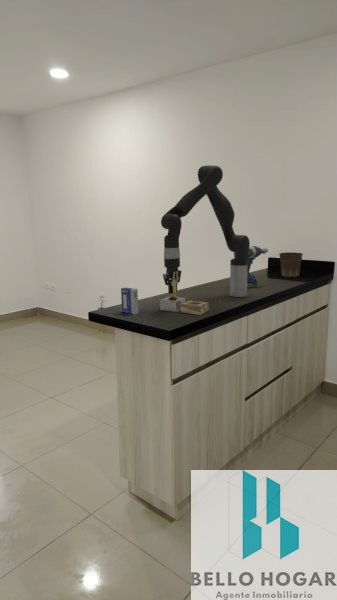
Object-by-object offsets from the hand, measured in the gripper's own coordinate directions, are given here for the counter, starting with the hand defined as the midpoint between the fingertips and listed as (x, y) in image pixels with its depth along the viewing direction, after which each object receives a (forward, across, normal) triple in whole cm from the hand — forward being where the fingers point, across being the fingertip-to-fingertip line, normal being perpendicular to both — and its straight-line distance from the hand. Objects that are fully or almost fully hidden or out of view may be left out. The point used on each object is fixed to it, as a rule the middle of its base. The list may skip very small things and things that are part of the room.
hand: (172, 292), depth 199 cm
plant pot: (+9, -125, +22) cm, 127 cm away
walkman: (+8, +16, -14) cm, 23 cm away
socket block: (+8, 0, 0) cm, 8 cm away
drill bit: (+6, 0, 0) cm, 6 cm away
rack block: (+8, 0, +12) cm, 15 cm away
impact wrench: (+9, -73, +12) cm, 74 cm away
